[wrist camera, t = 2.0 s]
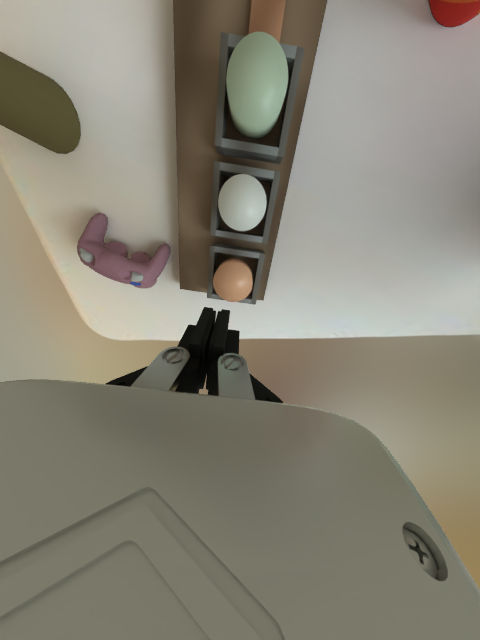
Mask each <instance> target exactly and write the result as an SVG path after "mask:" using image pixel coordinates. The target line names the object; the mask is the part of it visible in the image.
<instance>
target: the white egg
mask: <svg viewBox="0 0 480 640" xmlns="http://www.w3.org/2000/svg"><path fill="white" fill-rule="evenodd" d="M266 205H267V200H266V194H265V191H264V189H263V187H262V185H261V183H260V182H259V181H258V180H257V179H256V178H254V177H252V176H250V175H247V174H238V175H235V176H233V177H231V178H230V179H228V180H227V181H226V182H225V184H224V185H223V187H222V189H221V191H220V194H219V199H218V207H219V212H220V215H221V217H222V219H223V221H224V222H225V223H226V224H227V225H228V226H229V227H230V228H232V229H234V230H237V231H247V230H250V229H252V228H254V227H255V226H257V225H258V224H259V223H260V221H261V220H262V218H263V216H264V214H265V211H266Z"/></svg>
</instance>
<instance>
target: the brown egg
mask: <svg viewBox="0 0 480 640" xmlns="http://www.w3.org/2000/svg"><path fill="white" fill-rule="evenodd" d="M252 285H253V280H252V271H251V269H250V267H249V265H248V264H247V263H246V262H245V261H243V260H242V259H239V258H229V259H227V260H225V261H223V262H222V263H221V264H220V266H219V268H218V269H217V271H216V273H215V275H214V278H213V286H214V289H215V291H216V293H217V294H218V295H219V296H220V297H221V298H222V299H224V300H226V301H230V302H237V301H241V300H243V299H244V298H246V297H247V296H248V295H249V293H250V292H251V289H252Z"/></svg>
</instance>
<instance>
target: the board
mask: <svg viewBox="0 0 480 640" xmlns="http://www.w3.org/2000/svg"><path fill="white" fill-rule="evenodd" d="M326 4H327V0H173V10H174V52H175V94H176V136H177V179H178V221H179V263H180V289H185V290H192V291H199V292H206V293H207V298H213V299H220V300H224V299H222V298H221V297H220V296H219V295H218V294H217V293H216V291H215V289H214V286H213V278H214V275H215V273H216V271H217V269H218V268H219V266H220V264H221V263H222V262H223V261H225V260H227V259H229V258H239V259H242V260H243V261H245V262H246V263H247V264H248V265H249V267H250V269H251V271H252V280H253V285H252V289H251V292H250V293H249V295H248V296H247V297H246V298H244V299H243V300H241V301H237V302H241V303H249V304H256V300H263V299H264V295H265V290H266V285H267V280H268V276H269V271H270V266H271V262H272V257H273V252H274V248H275V243H276V238H277V234H278V229H279V224H280V219H281V215H282V210H283V205H284V201H285V196H286V191H287V187H288V182H289V177H290V173H291V168H292V163H293V158H294V154H295V149H296V144H297V140H298V135H299V130H300V126H301V121H302V116H303V112H304V107H305V102H306V97H307V93H308V88H309V83H310V79H311V74H312V69H313V65H314V60H315V55H316V51H317V46H318V41H319V36H320V32H321V27H322V22H323V18H324V13H325V8H326ZM253 32H265V33H268V34H270V35H271V36H273V37H274V38H275V39H276V40H277V41H278V42H279V44H280V45H281V47H282V49H283V51H284V54H285V56H286V60H287V66H288V85H287V91H286V95H285V98H284V101H283V104H282V108H281V111H280V114H279V117H278V120H277V122H276V124H275V126H274V127H273V129H272V130H271V131H270V132H269V133H268V134H267V135H265V136H264V137H262V138H259V139H250V138H247V137H245V136H243V135H242V134H241V133H240V132H239V131H238V130H237V128H236V127H235V125H234V123H233V120H232V117H231V112H230V106H229V100H228V93H227V85H226V76H227V68H228V64H229V60H230V57H231V55H232V53H233V51H234V49H235V47H236V46H237V44H238V43H239V42H240V41H241V40H242V39H243V38H244V37H245V36H247V35H248V34H250V33H253ZM238 174H247V175H250V176H252V177H254V178H256V179H257V180H258V181H259V182H260V183H261V185H262V187H263V189H264V191H265V194H266V200H267V205H266V211H265V214H264V216H263V218H262V220H261V221H260V223H259V224H258V225H257V226H255V227H254V228H252V229H250V230H247V231H237V230H234V229H232V228H230V227H229V226H228V225H227V224H226V223H225V222H224V221H223V219H222V217H221V215H220V212H219V207H218V199H219V194H220V191H221V189H222V187H223V185H224V184H225V182H226V181H227V180H228V179H230V178H231V177H233V176H235V175H238Z"/></svg>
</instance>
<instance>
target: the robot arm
mask: <svg viewBox="0 0 480 640" xmlns="http://www.w3.org/2000/svg"><path fill="white" fill-rule="evenodd" d="M229 315H230V310H223V309H222V311H218V314H217V318H216V321H215V317H216V311H213V308H207V307H204V309H203V311H202V313H201V316H200V318H199V320H198V322H197V325H196V326H195V325H188V327H187V329H186V331H185V333H184V335H183V337H182V338H181V340H180V342H179V345H178V346H177V347H170V348H167V349H165V350H163V351H162V352H161V353H160V354H159V355H158V356H157V357H156V358H155V359H154V360H153V362H152V363H151V364H150V365H149V366H147V367H145V368H142V369H140V370H137V371H135V372H132V373H130V374H127V375H125V376H122V377H120V378H117V379H115V380H112V381H110V382H108V383H106V384H96V383H86V382H75V381H60V380H16V381H6V382H0V640H480V590H479V588H478V586H477V585H476V583H475V581H474V580H473V578H472V577H471V575H470V573H469V572H468V570H467V569H466V567H465V565H464V564H463V562H462V560H461V559H460V557H459V556H458V554H457V552H456V551H455V549H454V547H453V546H452V544H451V543H450V541H449V539H448V538H447V536H446V535H445V533H444V531H443V530H442V528H441V526H440V525H439V523H438V522H437V520H436V519H435V517H434V516H433V514H432V513H431V511H430V510H429V508H428V506H427V505H426V503H425V502H424V500H423V499H422V497H421V496H420V494H419V493H418V491H417V490H416V488H415V486H414V485H413V483H412V482H411V480H410V479H409V477H408V476H407V475H406V473H405V472H404V470H403V469H402V467H401V466H400V465H399V463H398V462H397V461H396V459H395V458H394V457H393V455H392V454H391V452H390V451H389V450H388V449H387V447H386V446H385V445H384V444H383V443H382V442H381V441H380V439H379V438H378V437H377V436H376V435H374V434H373V433H372V432H371V431H370V430H368V429H367V428H365V427H364V426H362V425H360V424H359V423H357V422H355V421H353V420H350V419H348V418H346V417H344V416H342V415H339V414H336V413H333V412H330V411H326V410H322V409H318V408H312V407H306V406H300V405H293V404H285V403H283V402H282V401H281V400H280V399H279V398H278V397H277V396H276V395H275V394H274V393H272V392H271V391H270V390H269V389H268V388H266V387H265V386H264V385H263V384H262V383H260V382H259V381H258V380H257V379H255V378H254V377H253V376H252V375H251V374H250V373H249V371H248V367H247V362H246V360H245V359H244V358H243V357H242V356H240V355H239V331H236V330H228V323H229ZM206 375H207V380H206V389H207V390H208V395H204V394H198V393H199V389H203V387H204V383H205V379H206Z"/></svg>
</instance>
